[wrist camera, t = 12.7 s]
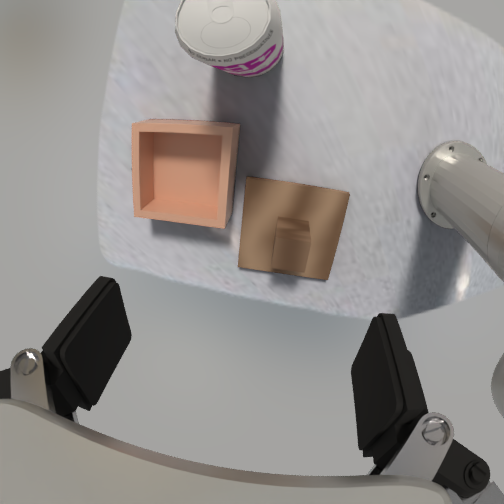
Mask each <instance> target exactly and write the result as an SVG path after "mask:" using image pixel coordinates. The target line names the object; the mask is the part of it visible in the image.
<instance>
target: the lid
mask: <svg viewBox="0 0 504 504" xmlns="http://www.w3.org/2000/svg"><path fill="white" fill-rule="evenodd" d="M349 196H350V194H349V192H345V191H339V190H334V189H328V188H323V187H317V186H311V185H305V184H298V183H292V182H285V181H279V180H272V179H264V178H257V177H249V176H247V177H246V186H245V196H244V206H243V216H242V227H241V238H240V248H239V259H238V267H242V268H248V269H255V270H262V271H268V272H275V273H282V274H289V275H296V276H303V277H310V278H317V279H324V280H328V278H329V274H330V271H331V267H332V263H333V260H334V256H335V252H336V249H337V245H338V241H339V237H340V233H341V229H342V225H343V221H344V217H345V213H346V209H347V205H348V200H349Z"/></svg>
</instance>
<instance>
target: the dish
mask: <svg viewBox="0 0 504 504" xmlns="http://www.w3.org/2000/svg"><path fill="white" fill-rule="evenodd" d="M239 132H240V124H239V123H228V122H215V121H199V120H176V119H148V120H144V121H140V122H136V123H132V184H133V204H134V217H141V218H149V219H156V220H164V221H171V222H179V223H186V224H194V225H201V226H208V227H215V228H222V229H225V227H226V225H227V223H228V221H229V219H230V217H231V214H232V209H233V197H234V186H235V175H236V164H237V153H238V143H239Z"/></svg>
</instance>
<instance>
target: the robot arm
mask: <svg viewBox="0 0 504 504" xmlns="http://www.w3.org/2000/svg"><path fill="white" fill-rule="evenodd" d="M449 147H450V149H449ZM425 175H426V176H425ZM424 176H425V177H424ZM418 196H419V201H420V204H421V207H422V209H423V211H424V212H425V214H426V215H427V216H428V217H429V218H430V220H432V221H433V222H434V223H435V224H437V225H438V226H440V227H443V228H447V229H456V230H457V231H458V232H459V233H460V234H461V235H462V237H463V238H464V239H465V240H466V241H467V242H468V243H469V244H470V245H471V246H472V247H473V248H474V249H475V250H476V252H477V253H478V254H479V255H480V256H481V257H482V258H483V259H484V261H485V262H486V263H487V264H488V265H489V266H490V267H491V269H492V270H493V271H494V272H495V273H496V274H497V276H498V277H499V278H500V279H501V280H502V281H503V282H504V173H502V172H500V171H499V170H497V169H495V168H493V167H491V166H489V165H487V163H486V161H485V159H484V157H483V156H482V154H481V153H480V152H479V151H478V150H477V149H476V148H475V147H473V146H471V145H470V144H467V143H464V142H460V141H449V142H446V143H443V144H441V145H440V146H438V147H436V148H435V149H434V150H433V151H432V152H431V153H430V154H429V155H428V157H427V158H426V160H425V161H424V164H423V166H422V168H421V171H420V174H419V179H418ZM130 340H131V330H130V326H129V323H128V319H127V315H126V311H125V307H124V303H123V299H122V295H121V291H120V287H119V284H118V283H116V281H115V279H113V278H108V277H103V276H100V277H99V278H98V279H97V280H96V281H95V282H94V283H93V284H92V285H91V287H90V288H89V289H88V290H87V291H86V292H85V294H84V295H83V296H82V297H81V299H80V300H79V301H78V302H77V303H76V304H75V306H74V307H73V308H72V309H71V311H70V312H69V313H68V314H67V315H66V317H65V318H64V319H63V320H62V322H61V323H60V324H59V326H58V327H57V328H56V329H55V331H54V332H53V333H52V335H51V336H50V337H49V339H48V340H47V341H46V342H45V344H44V345H43V347H42V349H43V351H42V352H41V353H40V352H39V351H37V350H36V349H32V348H29V349H24V350H22V351H20V352H19V353H17V354H16V355H15V357H14V358H13V360H12V362H11V368H9V369H6V370H3V371H0V504H504V495H503V493H502V492H501V491H500V489H499V488H498V486H497V485H496V484H495V482H491V483H490V481H489V479H490V470H489V466H488V465H487V463H486V462H485V461H484V460H483V459H481V458H480V457H478V456H477V455H476V454H474V453H472V452H471V451H470V450H468V449H467V448H466V447H464V446H463V445H461V444H460V443H458V442H457V441H456V440H454V439H453V437H454V429H453V426H452V423H451V422H450V420H449V419H448V418H446V416H444V415H442V414H440V413H435V412H432V413H428V409H427V405H426V401H425V397H424V394H423V390H422V387H421V383H420V380H419V376H418V373H417V370H416V366H415V363H414V360H413V357H412V354H411V352H409V351H408V350H407V347H406V344H405V341H404V338H403V335H402V332H401V329H400V327H399V324H398V321H397V318H396V316H395V315H394V314H385V313H379V314H378V316H377V317H373V319H372V321H371V323H370V326H369V329H368V331H367V333H366V335H365V338H364V340H363V342H362V345H361V347H360V349H359V351H358V354H357V356H356V358H355V360H354V362H353V364H352V368H351V376H352V384H353V393H354V403H355V413H356V422H357V436H358V446H359V450H363V457H373V458H374V464H375V465H374V466H373V468H372V469H371V470H370V471H369V473H368V474H367V475H360V476H298V475H297V476H296V475H281V474H269V473H259V472H251V471H243V470H236V469H230V468H224V467H218V466H213V465H207V464H202V463H198V462H193V461H188V460H184V459H180V458H176V457H172V456H168V455H165V454H161V453H158V452H154V451H151V450H147V449H144V448H141V447H138V446H135V445H132V444H129V443H126V442H123V441H120V440H117V439H114V438H112V437H109V436H106V435H104V434H102V433H99V432H97V431H94V430H92V429H89V428H87V427H84V426H82V425H80V424H79V422H78V419H77V415H76V409H77V407H78V406H79V407H81V408H83V409H86V410H88V411H90V409H91V407H92V405H93V406H94V405H96V404H97V402H98V400H99V398H100V396H101V394H102V392H103V390H104V389H105V387H106V385H107V383H108V381H109V379H110V377H111V375H112V374H113V372H114V370H115V368H116V366H117V364H118V363H119V361H120V359H121V357H122V355H123V353H124V352H125V350H126V348H127V346H128V344H129V343H130ZM491 390H492V396H493V400H494V403H495V405H496V407H497V409H498V411H499V412H500V414H501V415H502V416H503V418H504V353H503V355H502V357H501V358H500V360H499V362H498V364H497V365H496V368H495V370H494V373H493V377H492V382H491Z"/></svg>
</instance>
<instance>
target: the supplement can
mask: <svg viewBox="0 0 504 504" xmlns="http://www.w3.org/2000/svg"><path fill="white" fill-rule="evenodd" d="M175 33H176V36H177V38H178V41H179V43H180V46H181V47H182V48H183V49H184V50H185V51H186V52H187V53H188V54H189V55H190V56H191V57H192V58H194V59H196V60H199V61H201V62H203V63H205V64H207V65H210V66H213V67H215V68H218V69H220V70H223V71H225V72H228V73H230V74H233V75H235V76H241V77H254V76H260V75H262V74H264V73H266V72H268V71H270V70H271V69H272V68H273V67H274V66H275V65H276V64H277V63H278V62H279V60H280V58H281V56H282V53H283V31H282V22H281V13H280V9H279V7H278V4H277V2H276V0H182V1H181V3H180V5H179V7H178V10H177V12H176V20H175Z"/></svg>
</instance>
